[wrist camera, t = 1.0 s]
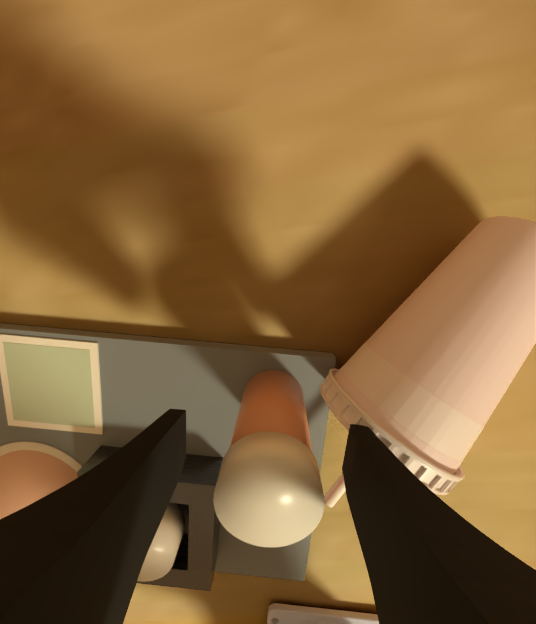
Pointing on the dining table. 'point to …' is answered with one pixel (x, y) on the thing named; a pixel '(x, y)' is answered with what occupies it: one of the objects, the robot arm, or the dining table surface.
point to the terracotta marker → (270, 467)
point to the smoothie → (444, 355)
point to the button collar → (202, 520)
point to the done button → (164, 545)
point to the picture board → (137, 412)
